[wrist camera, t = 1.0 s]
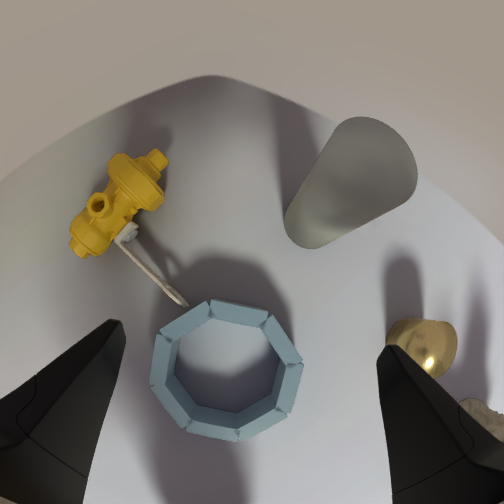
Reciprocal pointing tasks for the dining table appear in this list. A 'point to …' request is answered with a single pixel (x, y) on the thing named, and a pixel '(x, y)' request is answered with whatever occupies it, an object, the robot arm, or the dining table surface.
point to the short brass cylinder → (426, 343)
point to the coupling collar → (214, 419)
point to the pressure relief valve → (122, 211)
